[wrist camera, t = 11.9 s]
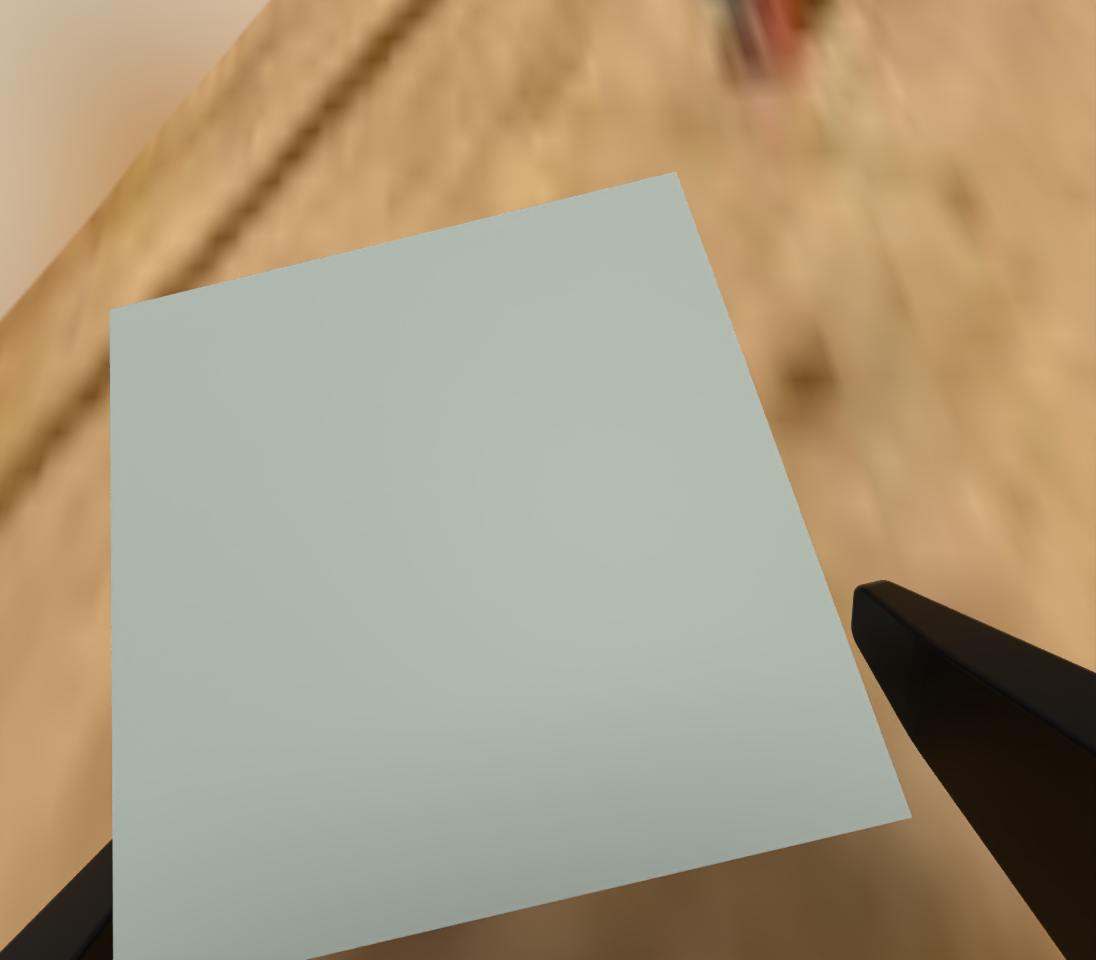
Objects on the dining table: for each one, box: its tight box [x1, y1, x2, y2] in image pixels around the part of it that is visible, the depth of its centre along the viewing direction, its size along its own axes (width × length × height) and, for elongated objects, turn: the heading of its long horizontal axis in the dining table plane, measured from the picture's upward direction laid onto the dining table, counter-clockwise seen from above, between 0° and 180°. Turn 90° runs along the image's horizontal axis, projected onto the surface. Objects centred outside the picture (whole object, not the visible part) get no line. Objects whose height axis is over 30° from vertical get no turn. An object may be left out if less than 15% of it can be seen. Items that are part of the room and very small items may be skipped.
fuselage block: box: [110, 172, 912, 960], centre depth 10 cm, size 4×4×13 cm
